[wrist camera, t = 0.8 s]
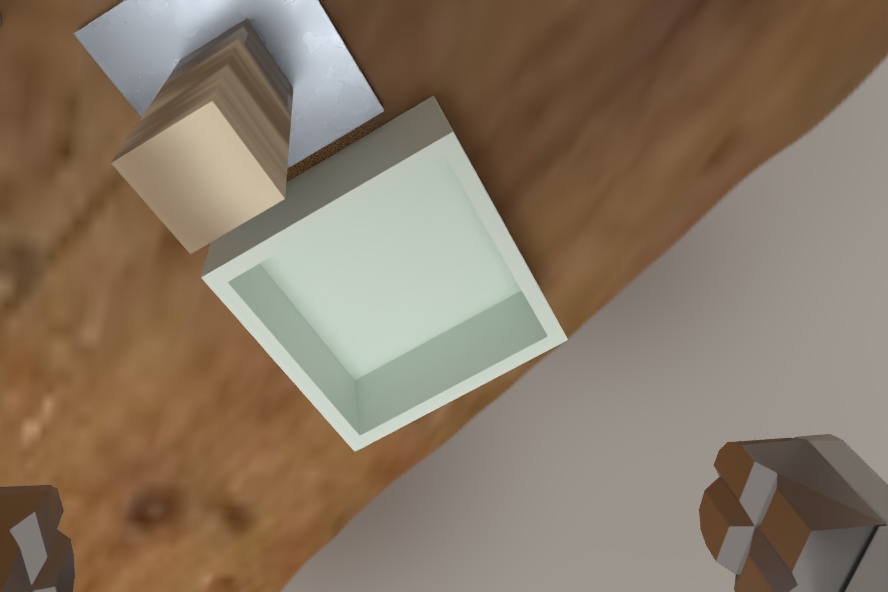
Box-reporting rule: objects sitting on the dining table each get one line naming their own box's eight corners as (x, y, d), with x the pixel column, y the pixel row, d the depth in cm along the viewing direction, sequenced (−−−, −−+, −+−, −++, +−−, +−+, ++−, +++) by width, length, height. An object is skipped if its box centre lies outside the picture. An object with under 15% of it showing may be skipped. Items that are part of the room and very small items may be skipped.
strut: (246, 18, 39) (212, 100, 25) (293, 88, 41) (285, 199, 28) (179, 60, 39) (111, 163, 26) (229, 127, 42) (190, 254, 28)
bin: (433, 95, 44) (452, 131, 38) (538, 285, 52) (567, 339, 46) (215, 223, 46) (201, 277, 40) (350, 387, 54) (354, 451, 48)
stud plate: (264, -91, 37) (259, -86, 33) (382, 106, 43) (390, 130, 39) (78, 29, 39) (52, 48, 35) (218, 203, 45) (209, 236, 41)
